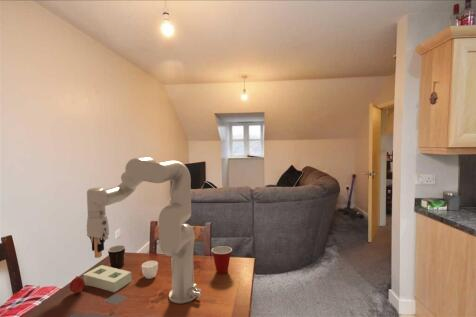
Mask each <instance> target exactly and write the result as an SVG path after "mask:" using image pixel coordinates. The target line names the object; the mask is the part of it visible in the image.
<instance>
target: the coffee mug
mask: <svg viewBox="0 0 476 317" xmlns="http://www.w3.org/2000/svg"><path fill="white" fill-rule="evenodd" d="M107 253H108V257H109V259H108V260H109V262H110V263H109V264H110V267H112V268H116V269H121V268H123V267H124V265H125V256H126V255H125V254H126V246H125V245H121V244H119V245H113V246H111V247H109V248H108V249H107Z"/></svg>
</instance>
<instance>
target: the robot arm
mask: <svg viewBox="0 0 476 317" xmlns="http://www.w3.org/2000/svg"><path fill="white" fill-rule="evenodd" d="M124 170H125V171H124V172H123V173H122V174H121V176H120V179H121V183H119V185H117V186H114V187H110V188H103V187H91V188H89V189H88V190H87V191H86V203H87V219H86V236H87V237H88V238H89V240H90V243H91V251H92V252H94V237H96V238H98V244H97V251H98V252H101V251H102V252H103V251H105V242H106V241H107V240H109V235H110V228H109V220H108V216H107V215H106V214H107V213H106V206H110V205H113V204H116V203H119V202H122V201H124V200H126V199H127V198H128V197H130V195H131V194H133V193H134V192H135V191H136V189H137V187H138V186H140V184H142V183H143V182H147V183H153V184H163V183H167V182H170V181H172V184H171V188H170V203H169V204H167V205H166V206H164V207H163V208H162V209H161V211H160V212H159V216H158V241H159V242H158V243H159V248H160V251H161V252H162V253H163V254H164V255H165V256H167V257H171V258H170V260H171V261H170V262H171V264H170V265H171V267H170V268H171V290H170V291H169V293H168V299H169V301H170V302H172V303H175V304H186V303H191V302H192V301H193V300H194V299H196V298H200V297H201V296H202V289H201V288H198V287H197V284H196V283H195V269H194V246H195V239H196V238H195V237H196V236H195V234H196V233H195V230H194V228H193V227H192V226H191V225H190V224H188V223H186V222H187V221H188V220H190V218H191V217H192V195H191V193H192V191H191V185H192V184H191V182H192V178H191V173H190V170H189V168H188V167H187V166H186V165H185V164H184V163H183V162H182V161H181V162H180V161H178V160H167V161H159V162H156V160H155V159H154V158H152V157H150V156H143V157H134V158H131V159H130V160H128V161H127V162H126V165H125V168H124Z"/></svg>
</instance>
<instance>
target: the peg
mask: <svg viewBox="0 0 476 317" xmlns="http://www.w3.org/2000/svg"><path fill="white" fill-rule="evenodd" d="M97 244H98V238H96V237H94V251H93V253H94V258H96V259H98V258H101V257H102V256H103V255H102V252H103V251H101V252H98V251H97Z"/></svg>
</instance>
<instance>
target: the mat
mask: <svg viewBox="0 0 476 317" xmlns="http://www.w3.org/2000/svg"><path fill="white" fill-rule="evenodd" d="M128 298H129V297H128V296H126V295H122V294H118V293H116V292H113V294H111V295H109V297H107V298H105V299H104V300H103V302H104V303H107V304H111V305H114V306H118V305H120V304H121V303H123V302H124V301H125V300H127V299H128Z"/></svg>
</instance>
